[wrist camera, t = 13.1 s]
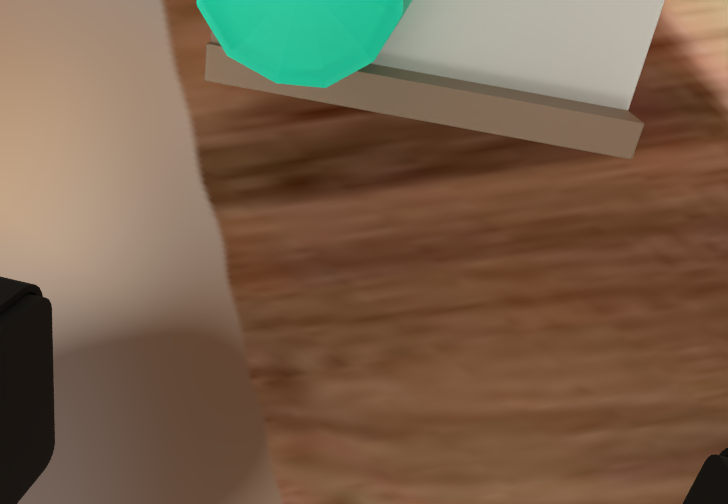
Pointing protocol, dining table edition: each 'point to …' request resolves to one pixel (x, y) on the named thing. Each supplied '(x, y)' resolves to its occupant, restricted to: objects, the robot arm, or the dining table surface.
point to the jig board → (498, 70)
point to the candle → (303, 35)
